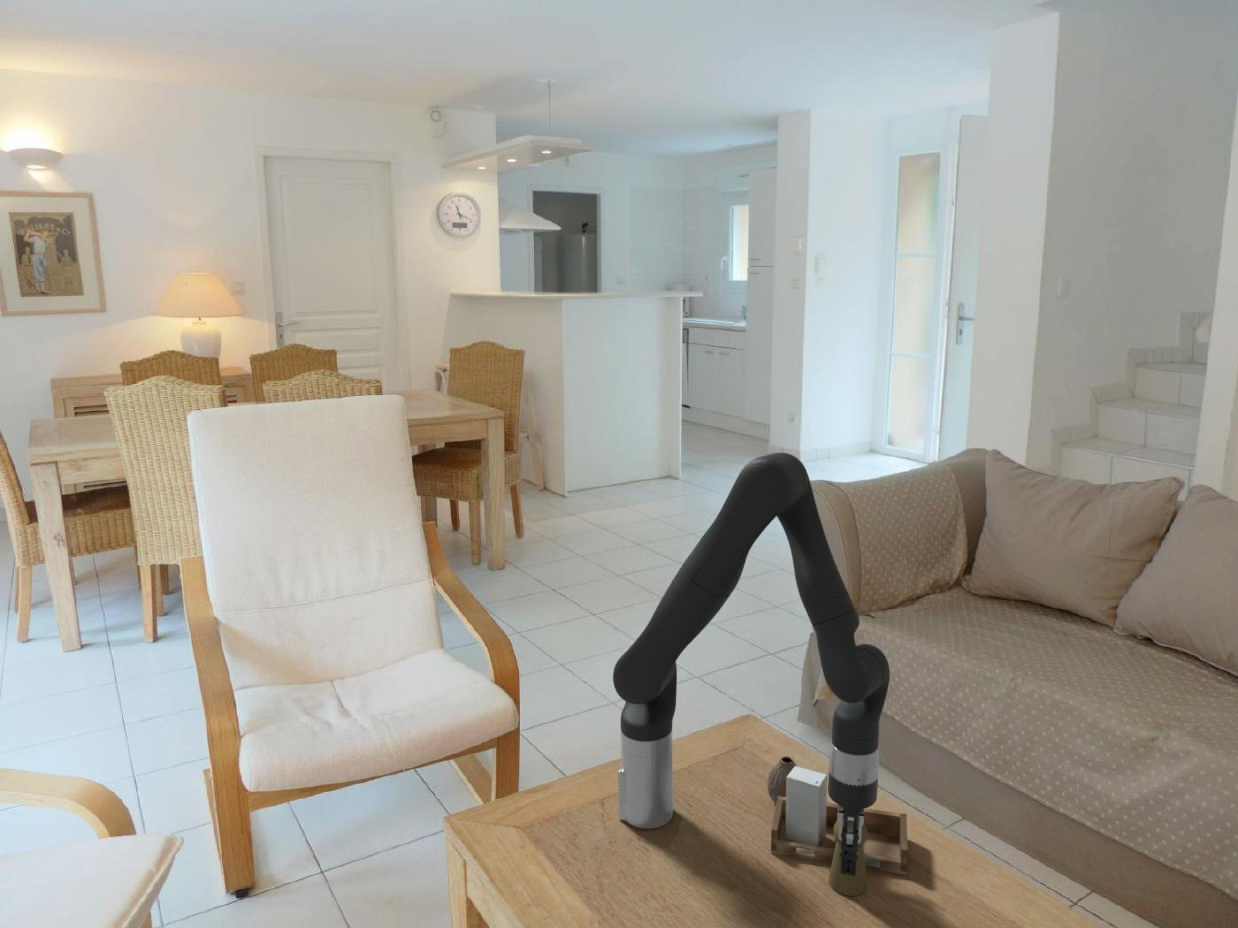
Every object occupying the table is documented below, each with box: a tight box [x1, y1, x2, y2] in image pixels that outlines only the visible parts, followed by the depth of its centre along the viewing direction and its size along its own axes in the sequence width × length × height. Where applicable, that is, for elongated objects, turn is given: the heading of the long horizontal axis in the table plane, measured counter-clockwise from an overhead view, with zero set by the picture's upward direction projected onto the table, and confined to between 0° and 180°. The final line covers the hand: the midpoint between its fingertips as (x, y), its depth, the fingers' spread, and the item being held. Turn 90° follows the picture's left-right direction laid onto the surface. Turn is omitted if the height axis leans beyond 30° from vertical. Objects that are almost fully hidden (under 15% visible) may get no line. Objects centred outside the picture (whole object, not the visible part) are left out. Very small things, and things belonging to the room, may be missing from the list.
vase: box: [767, 755, 799, 805], centre depth 167 cm, size 7×7×9 cm
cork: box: [828, 821, 868, 897], centre depth 145 cm, size 6×6×11 cm
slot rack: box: [770, 796, 909, 876], centre depth 155 cm, size 22×10×5 cm, turn 74°
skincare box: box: [786, 765, 828, 846], centre depth 155 cm, size 6×4×12 cm
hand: (848, 864), depth 145 cm, fingers closed on cork, 3 cm apart
